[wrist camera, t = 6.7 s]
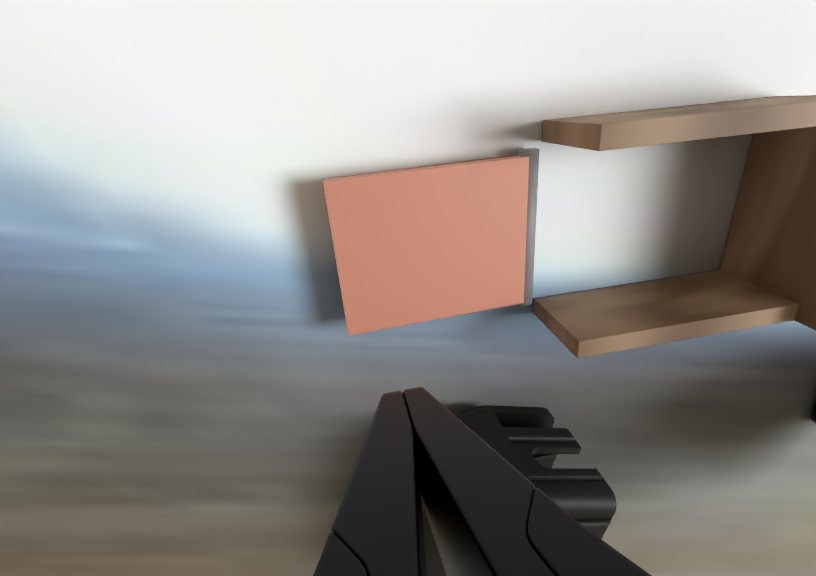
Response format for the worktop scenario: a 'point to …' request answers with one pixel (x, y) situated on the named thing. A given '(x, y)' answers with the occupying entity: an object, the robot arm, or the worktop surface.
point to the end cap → (537, 467)
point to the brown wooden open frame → (747, 240)
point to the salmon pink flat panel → (434, 240)
